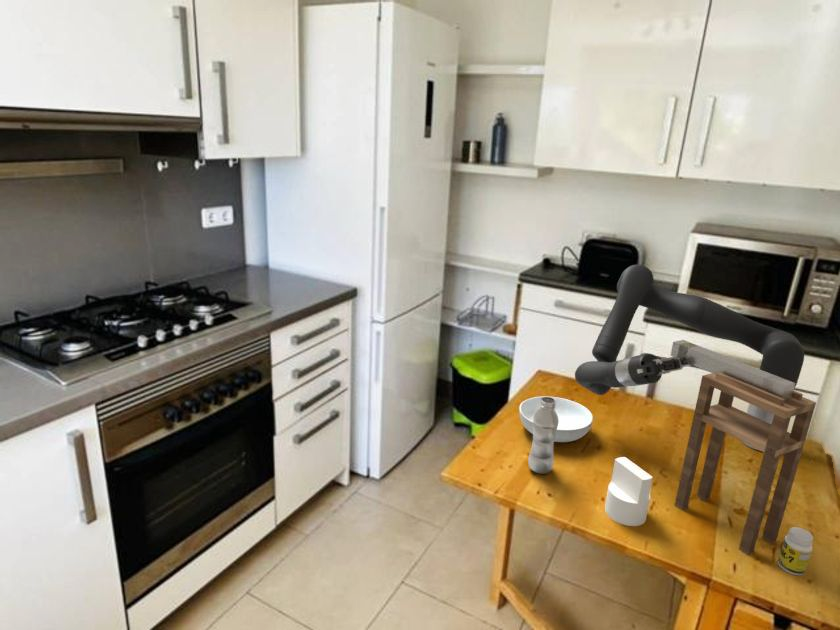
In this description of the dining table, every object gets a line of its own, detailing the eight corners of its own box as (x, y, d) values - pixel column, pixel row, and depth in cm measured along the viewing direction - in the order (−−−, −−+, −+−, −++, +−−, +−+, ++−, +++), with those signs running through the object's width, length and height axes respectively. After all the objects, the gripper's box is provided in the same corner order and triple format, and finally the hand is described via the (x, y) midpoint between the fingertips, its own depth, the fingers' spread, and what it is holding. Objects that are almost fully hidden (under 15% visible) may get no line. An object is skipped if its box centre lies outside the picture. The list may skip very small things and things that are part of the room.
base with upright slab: (596, 505, 129) (603, 461, 125) (626, 497, 132) (634, 453, 129) (624, 530, 121) (632, 483, 117) (654, 520, 125) (664, 475, 121)
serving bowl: (598, 428, 164) (601, 408, 162) (577, 460, 147) (580, 438, 145) (532, 408, 174) (534, 389, 172) (505, 436, 157) (507, 415, 155)
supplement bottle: (772, 559, 114) (781, 525, 112) (793, 558, 115) (803, 524, 112) (788, 576, 110) (799, 541, 107) (810, 575, 110) (821, 541, 108)
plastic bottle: (555, 466, 144) (564, 397, 138) (549, 480, 138) (558, 408, 132) (530, 460, 146) (538, 391, 140) (524, 473, 140) (532, 402, 134)
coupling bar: (680, 353, 132) (683, 339, 131) (791, 399, 110) (795, 383, 109) (670, 355, 130) (673, 341, 129) (780, 402, 109) (784, 386, 108)
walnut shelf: (702, 494, 135) (732, 363, 124) (776, 541, 120) (817, 396, 109) (674, 505, 130) (703, 370, 119) (747, 555, 115) (788, 406, 104)
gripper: (614, 360, 139) (665, 349, 125) (653, 352, 146) (706, 341, 131) (621, 389, 138) (674, 382, 124) (660, 380, 144) (715, 371, 130)
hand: (691, 360), depth 127 cm, fingers open, 8 cm apart
